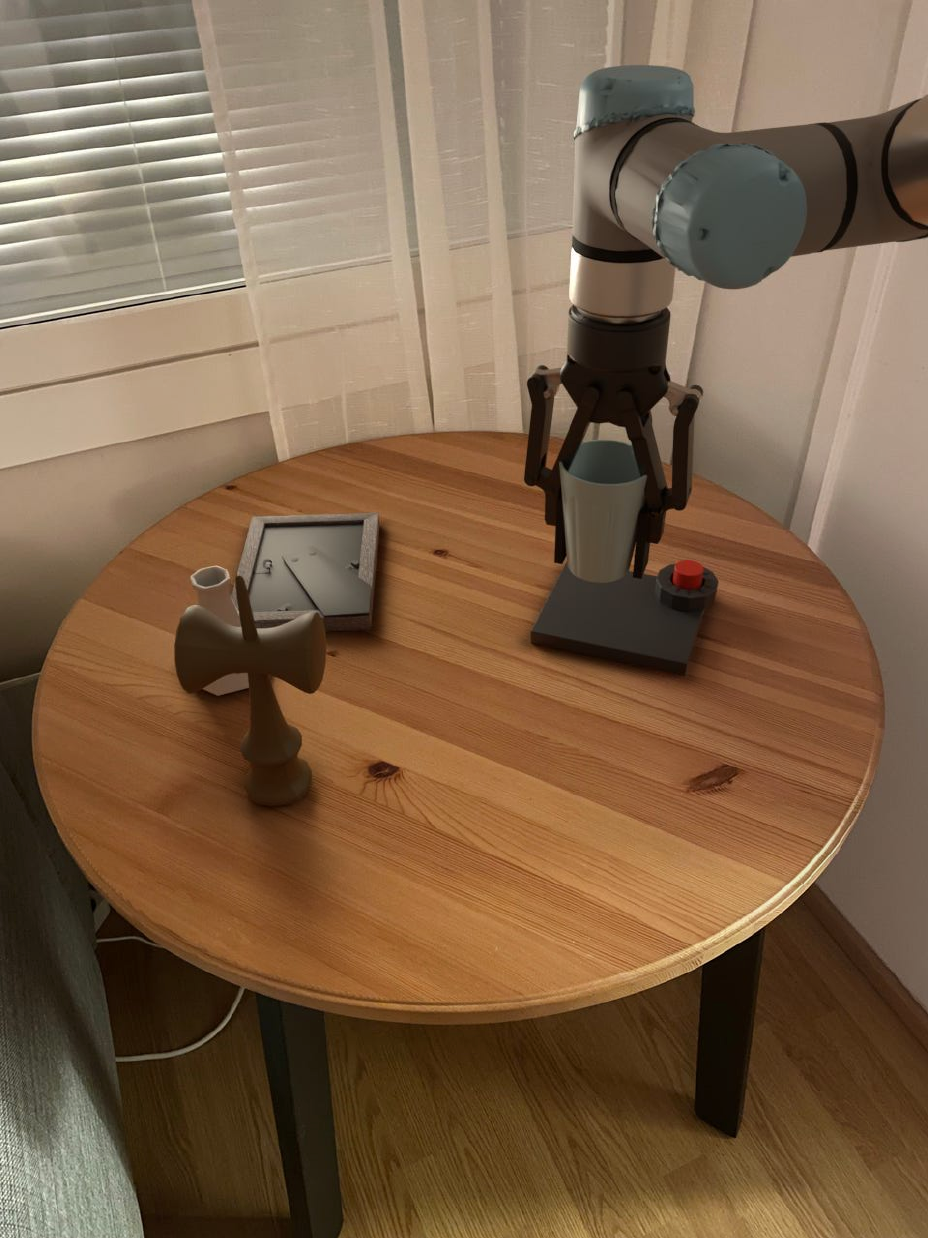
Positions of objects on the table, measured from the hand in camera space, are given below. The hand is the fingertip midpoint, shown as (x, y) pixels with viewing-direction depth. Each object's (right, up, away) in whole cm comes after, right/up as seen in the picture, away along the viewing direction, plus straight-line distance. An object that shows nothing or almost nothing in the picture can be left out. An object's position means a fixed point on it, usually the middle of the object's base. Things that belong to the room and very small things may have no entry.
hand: (601, 562), depth 88 cm
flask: (-33, -10, +1) cm, 34 cm away
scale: (+3, -5, +5) cm, 7 cm away
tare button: (+9, -2, +5) cm, 10 cm away
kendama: (-26, -18, -11) cm, 34 cm away
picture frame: (-28, -1, +12) cm, 30 cm away
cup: (0, 0, 0) cm, 1 cm away
